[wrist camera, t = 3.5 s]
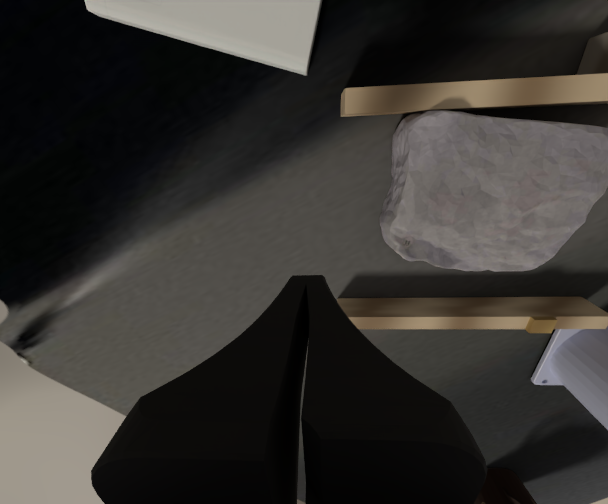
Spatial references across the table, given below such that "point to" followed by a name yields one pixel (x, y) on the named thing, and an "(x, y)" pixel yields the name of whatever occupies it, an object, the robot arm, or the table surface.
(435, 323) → the beam track
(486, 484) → the coffee mug
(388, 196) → the stone block
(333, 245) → the table surface
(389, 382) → the robot arm
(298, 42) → the external hard drive
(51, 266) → the table surface
